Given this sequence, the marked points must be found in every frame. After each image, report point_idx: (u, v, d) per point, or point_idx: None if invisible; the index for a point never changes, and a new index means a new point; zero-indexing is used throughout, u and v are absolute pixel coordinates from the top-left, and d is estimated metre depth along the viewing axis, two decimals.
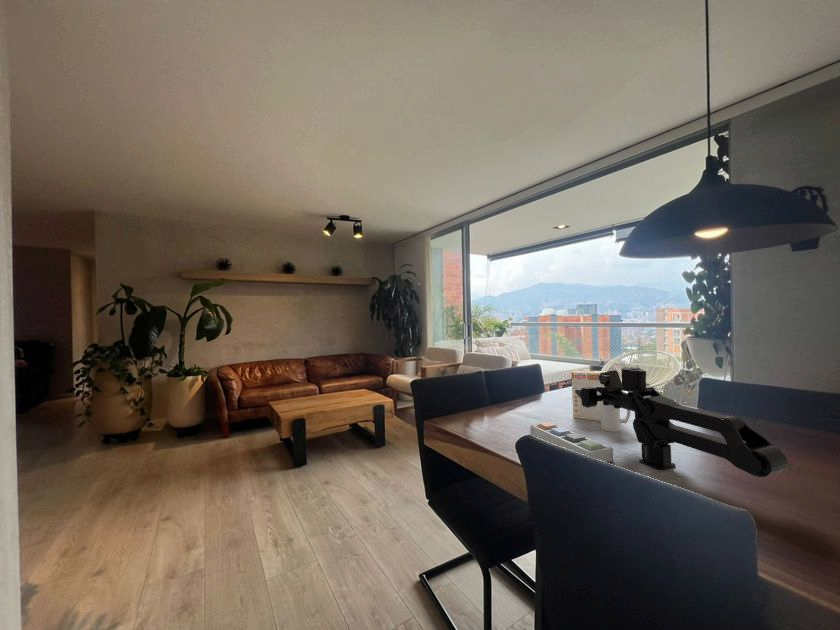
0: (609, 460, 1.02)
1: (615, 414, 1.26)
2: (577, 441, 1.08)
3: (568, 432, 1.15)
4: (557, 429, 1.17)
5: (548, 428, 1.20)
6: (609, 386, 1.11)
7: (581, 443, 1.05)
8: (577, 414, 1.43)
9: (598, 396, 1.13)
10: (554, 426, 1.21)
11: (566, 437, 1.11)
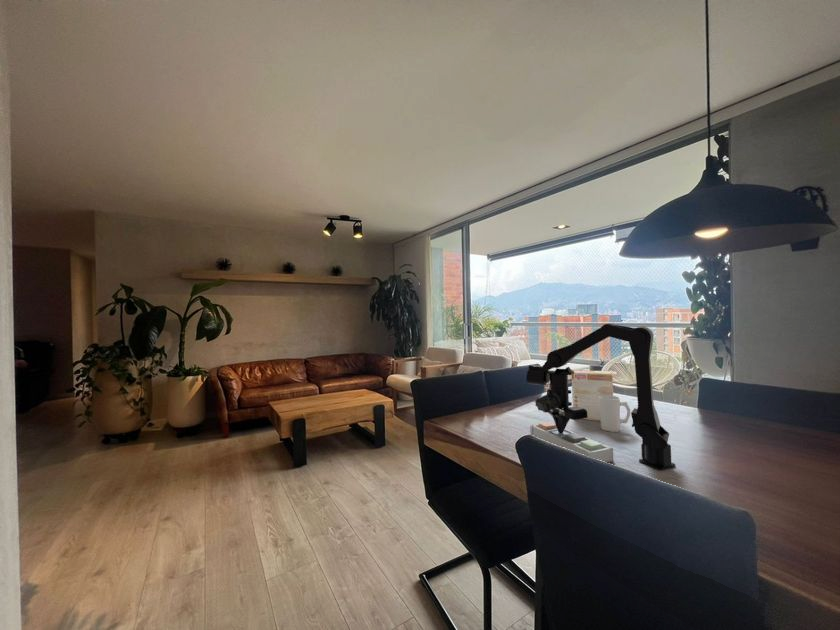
0: (609, 460, 1.02)
1: (615, 414, 1.26)
2: (577, 441, 1.08)
3: None
4: (557, 432, 1.17)
5: (548, 428, 1.20)
6: (555, 399, 1.13)
7: (581, 443, 1.05)
8: None
9: (568, 408, 1.12)
10: (554, 426, 1.21)
11: (566, 437, 1.11)
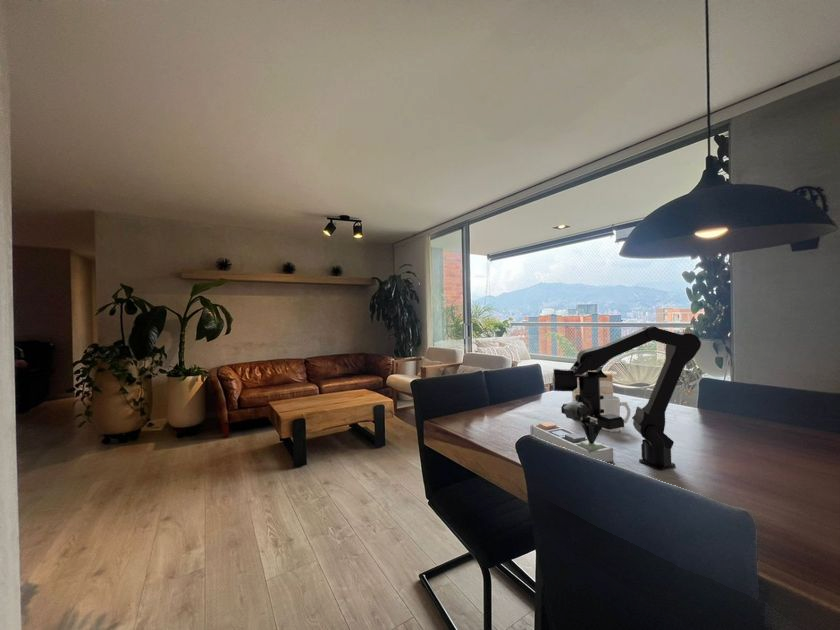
0: (609, 460, 1.02)
1: (615, 414, 1.26)
2: (577, 441, 1.08)
3: None
4: (557, 432, 1.17)
5: (548, 428, 1.20)
6: (586, 406, 1.01)
7: (581, 443, 1.05)
8: None
9: None
10: (554, 426, 1.21)
11: (566, 437, 1.11)
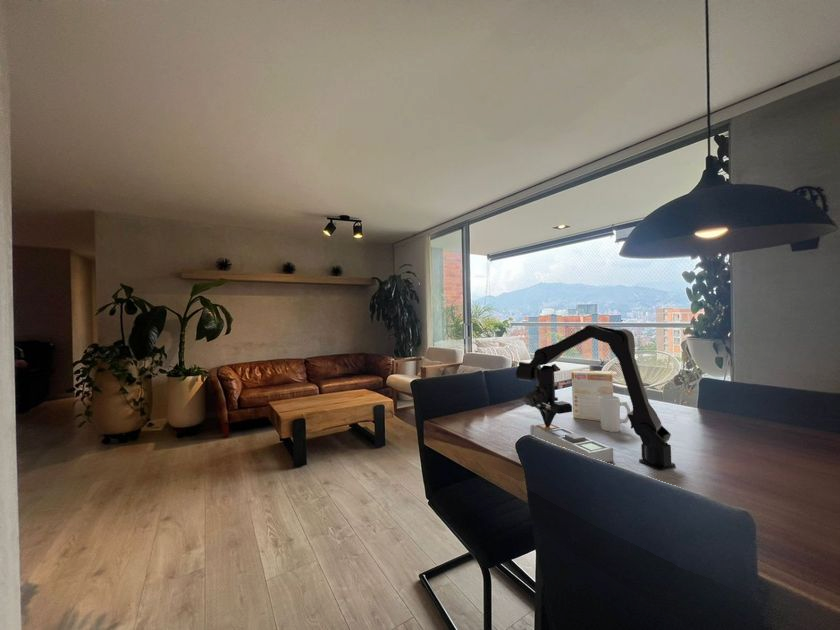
0: (609, 460, 1.02)
1: (615, 414, 1.26)
2: (577, 441, 1.08)
3: None
4: (557, 432, 1.17)
5: None
6: (542, 395, 1.19)
7: None
8: (577, 414, 1.43)
9: None
10: (554, 428, 1.21)
11: (566, 437, 1.11)
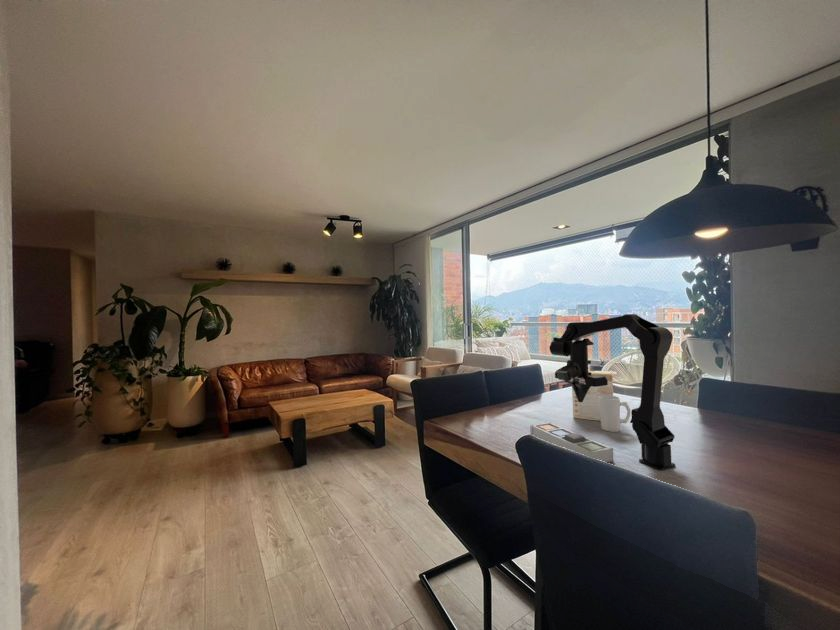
0: (609, 460, 1.02)
1: (615, 414, 1.26)
2: (577, 441, 1.08)
3: None
4: (557, 432, 1.17)
5: None
6: (575, 369, 1.17)
7: None
8: (577, 414, 1.43)
9: None
10: None
11: (566, 437, 1.11)
